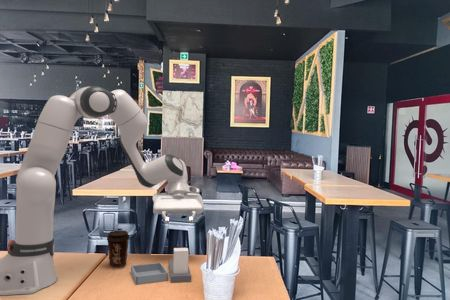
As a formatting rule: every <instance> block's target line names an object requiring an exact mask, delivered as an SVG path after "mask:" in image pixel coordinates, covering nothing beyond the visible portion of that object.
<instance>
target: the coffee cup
mask: <svg viewBox="0 0 450 300" xmlns="http://www.w3.org/2000/svg"><path fill="white" fill-rule="evenodd" d="M129 240H130V235H129V232H128V231H126V230H121V229H119V230H112V231H109V233H108V234H107V236H106V241H107V244H108V245H107V251H108V252H107V253H108V259H109V261H108V262H109V263H108V267H109V269H113V270H121V269H123V268H125V267H126V266H127V258H128V251H129Z"/></svg>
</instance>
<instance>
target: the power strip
mask: <svg viewBox="0 0 450 300" xmlns="http://www.w3.org/2000/svg"><path fill="white" fill-rule="evenodd" d="M168 271H169V272H168V274H169V279H170V284H175V283H176V284H178V283H191V282H192V273H191V269H190V266H189V265H188V273H182V274H173V259H172V260H171V259H170V260H168Z"/></svg>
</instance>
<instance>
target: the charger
mask: <svg viewBox="0 0 450 300" xmlns="http://www.w3.org/2000/svg"><path fill="white" fill-rule="evenodd" d="M172 255H173V257H172V260H173V274H182V273H188V266H189V248H188V247H174V248H173V254H172Z"/></svg>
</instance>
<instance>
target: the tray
mask: <svg viewBox="0 0 450 300" xmlns="http://www.w3.org/2000/svg"><path fill="white" fill-rule="evenodd" d="M130 274H131V276H132V277H131V278H133V279H132V280H133V281H134V283H135V286H137V285H146V284H153V283H161V282H168V281H169V272H168V270H167V269H166V267H165V266H164V265H163V263H162V262H161V261H160V262H151V263H143V264H134V265H130Z"/></svg>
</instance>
